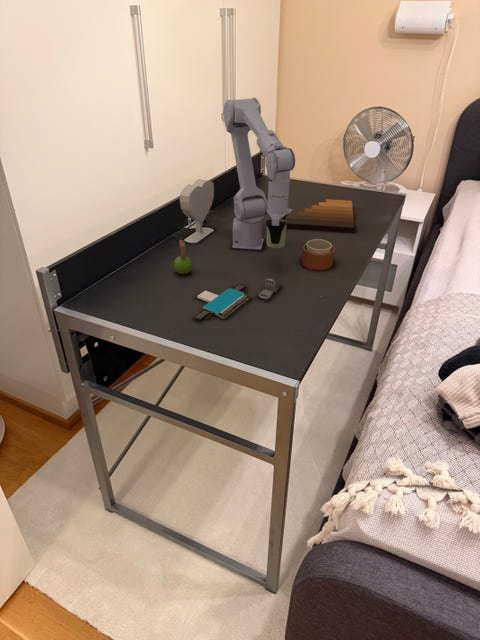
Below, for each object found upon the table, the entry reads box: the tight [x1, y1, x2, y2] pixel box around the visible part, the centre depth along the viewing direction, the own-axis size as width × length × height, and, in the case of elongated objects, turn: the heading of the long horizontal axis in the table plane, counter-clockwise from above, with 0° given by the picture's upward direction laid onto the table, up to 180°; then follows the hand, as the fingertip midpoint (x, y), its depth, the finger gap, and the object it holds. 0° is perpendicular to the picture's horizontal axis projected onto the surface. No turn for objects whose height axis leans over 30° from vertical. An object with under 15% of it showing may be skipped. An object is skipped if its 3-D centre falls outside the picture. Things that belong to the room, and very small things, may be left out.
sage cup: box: [266, 218, 287, 249], centre depth 138 cm, size 6×6×7 cm
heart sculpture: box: [179, 179, 215, 244], centre depth 158 cm, size 16×5×18 cm, turn 152°
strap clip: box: [258, 277, 281, 301], centre depth 130 cm, size 8×3×4 cm, turn 150°
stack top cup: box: [305, 238, 333, 254], centre depth 144 cm, size 8×8×6 cm
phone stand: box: [195, 284, 250, 321], centre depth 126 cm, size 20×12×2 cm, turn 146°
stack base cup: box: [301, 243, 336, 271], centre depth 144 cm, size 10×10×5 cm
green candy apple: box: [173, 239, 193, 275], centre depth 136 cm, size 5×6×12 cm
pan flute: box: [285, 198, 355, 233], centre depth 175 cm, size 25×3×25 cm
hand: (276, 239), depth 139 cm, fingers closed on sage cup, 5 cm apart
